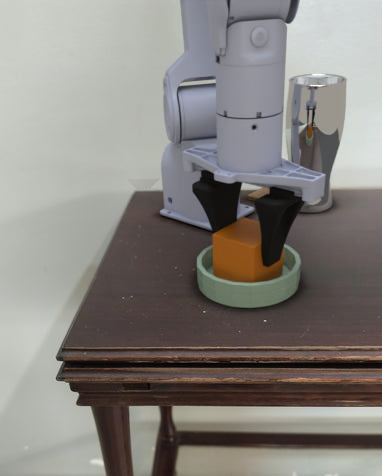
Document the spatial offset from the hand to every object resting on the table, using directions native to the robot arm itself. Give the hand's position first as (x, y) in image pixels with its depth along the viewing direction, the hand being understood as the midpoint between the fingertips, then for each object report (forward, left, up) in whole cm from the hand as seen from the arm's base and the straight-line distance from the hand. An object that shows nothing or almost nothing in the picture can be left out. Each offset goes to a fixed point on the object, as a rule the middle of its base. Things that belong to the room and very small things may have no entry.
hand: (248, 254), depth 57 cm
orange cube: (0, 0, -2) cm, 2 cm away
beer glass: (-6, +21, -3) cm, 22 cm away
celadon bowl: (0, 0, -3) cm, 3 cm away
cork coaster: (-11, +20, -3) cm, 23 cm away
